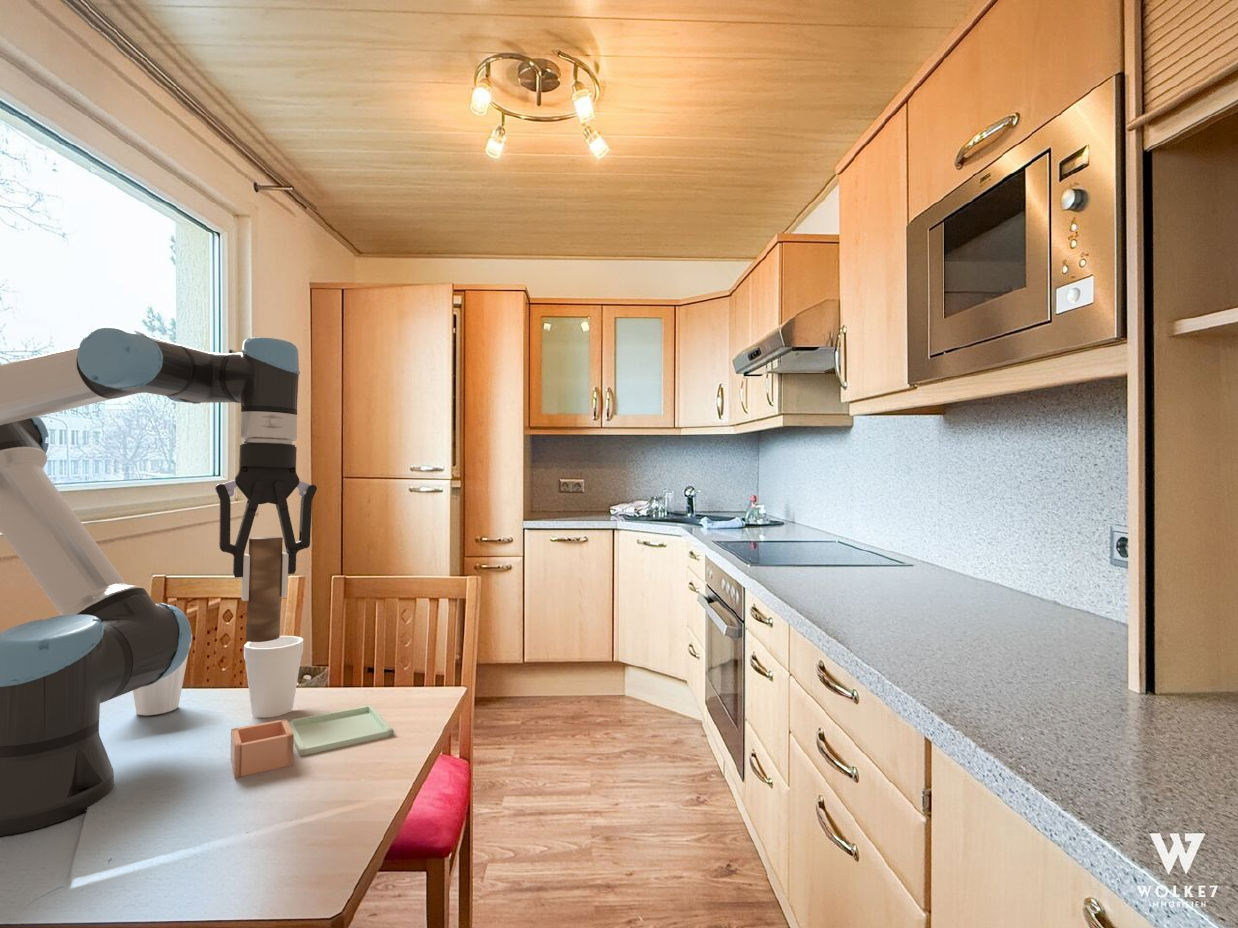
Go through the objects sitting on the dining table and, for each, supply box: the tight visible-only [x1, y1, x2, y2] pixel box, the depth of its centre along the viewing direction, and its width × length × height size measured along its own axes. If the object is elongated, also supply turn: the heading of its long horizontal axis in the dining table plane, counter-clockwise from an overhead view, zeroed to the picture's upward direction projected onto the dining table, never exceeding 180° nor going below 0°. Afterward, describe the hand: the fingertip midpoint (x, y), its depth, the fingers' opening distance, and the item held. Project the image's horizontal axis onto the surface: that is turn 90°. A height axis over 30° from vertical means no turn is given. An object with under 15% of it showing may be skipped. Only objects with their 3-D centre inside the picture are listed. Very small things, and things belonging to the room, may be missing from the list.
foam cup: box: [243, 635, 304, 719], centre depth 115 cm, size 10×9×13 cm
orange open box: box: [230, 718, 294, 779], centre depth 94 cm, size 7×7×5 cm
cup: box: [132, 639, 193, 716], centre depth 115 cm, size 10×10×13 cm
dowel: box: [245, 536, 284, 642], centre depth 95 cm, size 4×4×15 cm
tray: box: [287, 704, 395, 757], centre depth 106 cm, size 14×14×2 cm
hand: (264, 597), depth 95 cm, fingers closed on dowel, 4 cm apart
